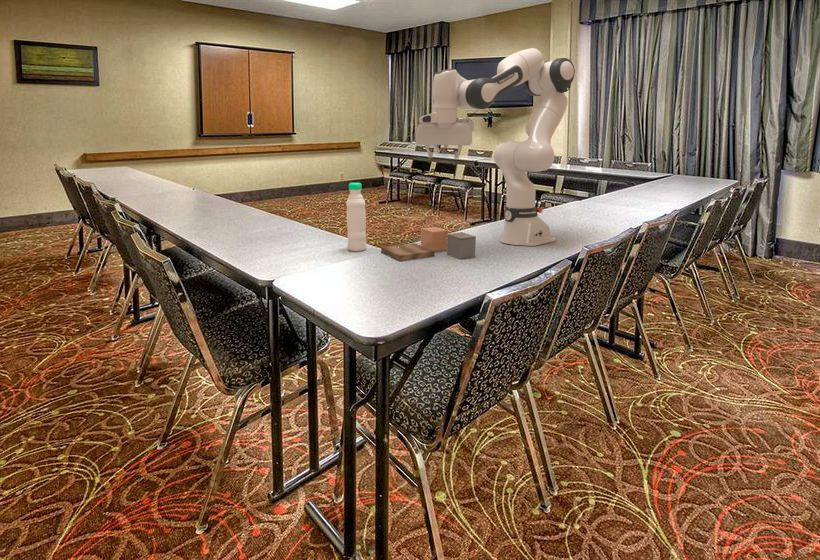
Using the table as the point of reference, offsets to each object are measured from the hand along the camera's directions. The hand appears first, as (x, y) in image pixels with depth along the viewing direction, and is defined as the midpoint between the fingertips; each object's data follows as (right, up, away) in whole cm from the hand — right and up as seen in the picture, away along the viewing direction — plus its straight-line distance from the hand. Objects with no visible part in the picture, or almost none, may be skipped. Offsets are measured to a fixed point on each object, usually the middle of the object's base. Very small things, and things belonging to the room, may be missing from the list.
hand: (443, 158), depth 187 cm
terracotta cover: (-3, -32, +10) cm, 34 cm away
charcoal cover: (+6, -35, 0) cm, 36 cm away
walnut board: (-13, -35, +2) cm, 37 cm away
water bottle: (-32, -33, +10) cm, 47 cm away
